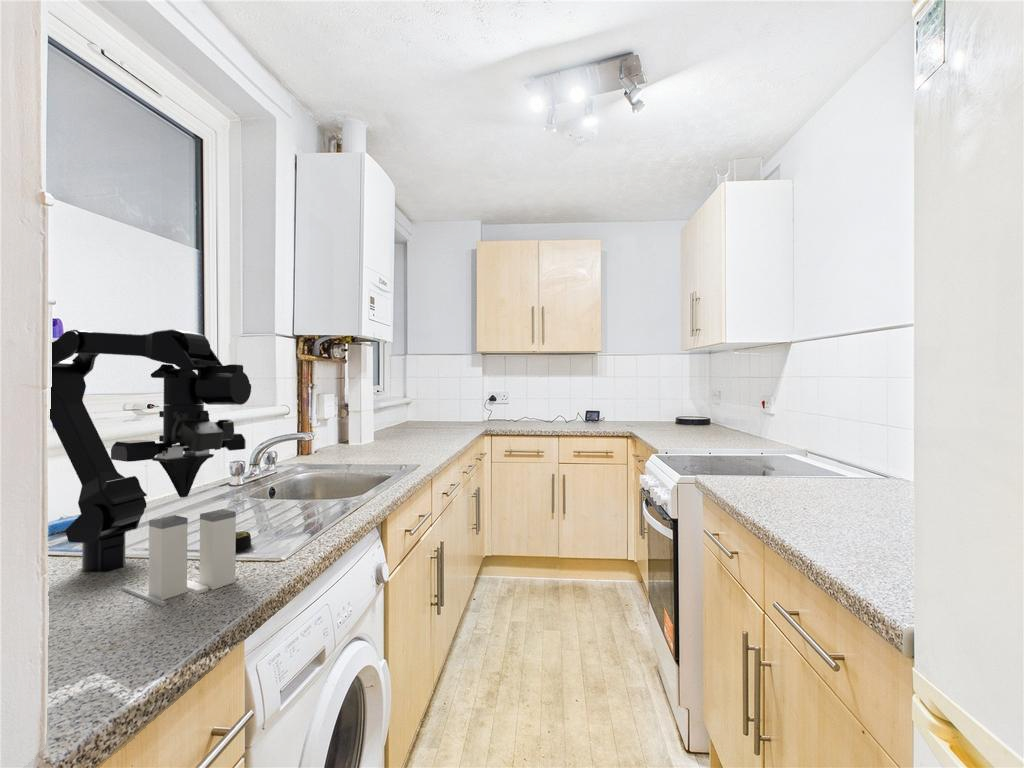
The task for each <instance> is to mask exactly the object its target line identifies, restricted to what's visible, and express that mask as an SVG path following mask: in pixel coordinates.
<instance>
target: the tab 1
mask: <svg viewBox="0 0 1024 768" xmlns="http://www.w3.org/2000/svg"><path fill="white" fill-rule="evenodd" d="M187 580H188V517H184V516H180V515H177V514H176V515H175V514H174V515H170V516H164V517H160V518H155V519H149V520H148V595H150V596H153V597H155V598H158V599H160V600H163V601H165V600H167V599H170V598H173V597H176V596H179V595H182V594H185V593H188V591H187Z"/></svg>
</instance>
